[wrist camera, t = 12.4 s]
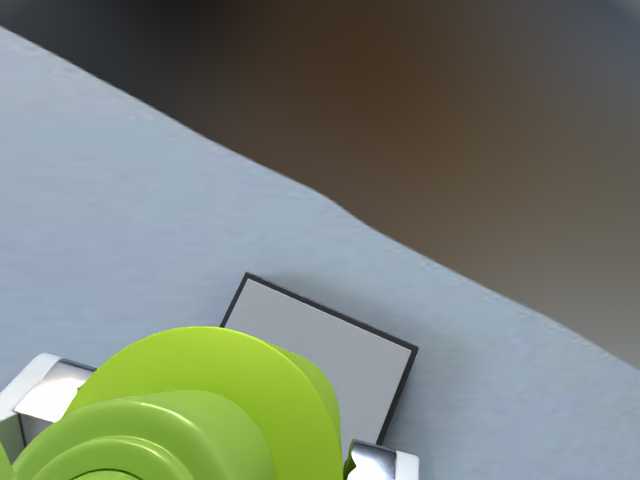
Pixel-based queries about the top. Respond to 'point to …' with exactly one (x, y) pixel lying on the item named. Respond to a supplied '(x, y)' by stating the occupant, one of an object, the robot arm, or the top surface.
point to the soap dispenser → (193, 416)
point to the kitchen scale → (330, 353)
